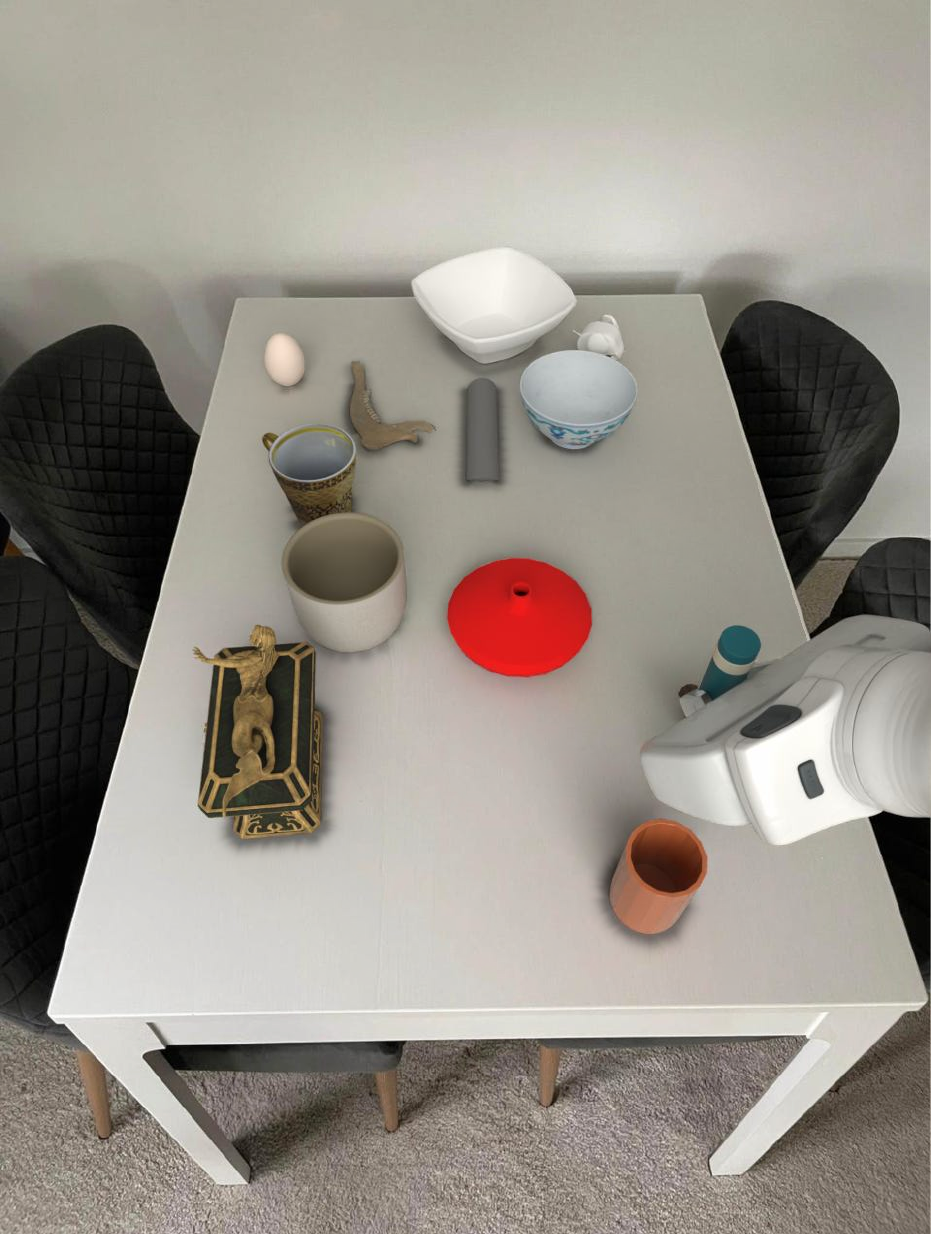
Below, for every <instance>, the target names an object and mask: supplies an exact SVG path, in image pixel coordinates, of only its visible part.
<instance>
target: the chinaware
mask: <svg viewBox="0 0 931 1234" xmlns="http://www.w3.org/2000/svg"><path fill="white" fill-rule="evenodd" d="M638 389H639V388H638V383H637V380H636V378H635V376H634V374H633V373H632V372H631V371H630V369H628V368H627V367H626V366H625V365H624V364H622V363H621V362H620V361H618V360H614V359H612V358H611V356H608V355H606V356H605V355H602V354H599V353H595V352H590V351H583V350H577V349H567V350H560V351H554V352H551V353H547V354H545V355H542V356H540V357H538V358H537V359H535V360H533V361H532V362H531V363H530V364H528V365H527V366H526V368H525V369H524V370H523V372H522V374H521V376H520V380H519V393H520V398H521V403H522V405H523V408H524V411H525V413H526V416H527V417H528V419H529V420H530V422H531V424H532V425H533V426H534V427H535V428H536V429H537V430H538V431H539V432H540V433H542V435H544V436H545V437H546V438H549V439H550V440H551V441H552V442H553V443H554V444H555V445H557V446H559V447H561V448H565V449H569V450H579V449H584V448H587V447H589V446H591V445H592V444H595V443H597V442H600V441H602V440H604V439H606V438H607V437H609V436H611V435H612V434H613V433H615V432H616V431H617V430H618V429H619V428H620V427H621V426H622V425H623V424H624V422H625V421H626V419H628V417H629V415H630V414H631V412H632V410H633V408H634V406H635V404H636V402H637V399H638V392H639V390H638Z"/></svg>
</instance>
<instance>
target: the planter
mask: <svg viewBox="0 0 931 1234" xmlns="http://www.w3.org/2000/svg"><path fill="white" fill-rule="evenodd" d="M281 569H282V574H283V578H284V582H285V584H286V585H285V586H286V588H287V592H288V594H289V597H290V601H291V604H292V607H293V610H294V613H295V615H296V618H297V620H298V622H299V623H300V625H301V627H302V629H303V630H304V632H305V633H306V634H307V635H308V636H309V637H310V638H311V639H312V640H314V642H316V643H318V644H319V645H321V646H322V647H324V648H326V649H328V650H331V651H335V652H339V653H360V652H365V651H368V650H370V649H374V648H375V647H378V646H379V645H381V644H382V643H384V642H385V641H387V640H388V639H389V638H390V637H391V636H393V634H395V632H396V630H397V629H398V628H399V626H400V625H401V622H402V620H403V618H404V615H405V612H406V607H407V601H408V599H407V598H408V587H407V586H408V585H407V573H406V572H407V571H406V557H405V550H404V545H403V542H402V539H401V537H400V536H399V535H398V533H397V532H396V531H395V529H394V528H392V527H391V526H390V524H388V523H387V522H385V521H383V520H382V519H380V518H377V517H376V516H373V515H371V514H370V515H369V514H365V513H360V512H352V511H351V512H345V513H335V514H330V515H326V516H323V517H320V518H317V519H315V520H313V521H311V522H309V523H308V524H306V525H303V526H302V527H300V528H299V529H298V530H297V531H296V532H295V533H294V534H293V535H292V536H291V537H290V538H289V540H288V541H287V543H286V544H285V547H284V549H283V552H282V556H281Z"/></svg>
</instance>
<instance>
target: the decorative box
mask: <svg viewBox="0 0 931 1234" xmlns="http://www.w3.org/2000/svg"><path fill="white" fill-rule="evenodd" d="M276 636H277V635H276V632H275V630H273V629H272V628H271V627H270V626H267V625H266V626H265V625H261V624H258V623H257V624H254V627H253V629H252V631H251V634H250V635H249V636H248V638H249V643H250V644H251V645H243V646H232V647H222V648H221V649H220V650H219V651H218V652H217V653H215V654H214V656H213V658H208V657H206V655H204V653H203V652H202V651H201V649H200V648H198V647H196V646H194V647H193V649H192V651H193V655H194V656H195V657H193V659H195V660H200V662H201V663H204V664H210V665H212V673H211V683H210V690H209V691H210V692H209V700H208V708H207V718H206V722H204V729H203V733H205V736H204V744H203V752H202V753H203V754H202V762H201V772H200V779H199V780H200V781H199V790H198V796H197V797H198V798H197V808H198V809H199V811H200V812H201V813H202V814H204V815H205V816H206V817H207V818H208V819H217V818H223V819H225V818H229V817H231V818H232V817H233V826H232V827H233V828H232V830H233V832H234V833H235V834H236V835H237V836H238V837H239V838H240V839H242V840H249V839H260V838H270V837H271V838H272V837H282V836H294V835H304V834H305V835H306V834H307V835H308V834H312V833H314V832H315V830H317V828H318V827H319V826H320V825H321V822H322V821H321V820H322V770H323V769H322V767H323V766H322V765H323V763H322V762H323V714H322V713H321V712H320V711H319V710H318V709H316V706H315V705H316V703H315V702H316V671H317V670H316V669H317V668H316V667H317V665H316V664H317V661H316V660H317V653H316V648H315V647H314V646H313V645H312V644H310V643H309V642H307V641H298V642H296V641H295V642H285V643H277V638H276ZM196 656H197V657H196Z"/></svg>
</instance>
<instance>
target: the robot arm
mask: <svg viewBox="0 0 931 1234" xmlns="http://www.w3.org/2000/svg"><path fill="white" fill-rule="evenodd" d="M678 702H679V704H680V707H681V709H682V712H683V714H684V717H685V716H686V718H683V719H681V720H679V721H677V722H676V723H674V724H673V725H671V726H670V727H668V728H667V729H665V730H663V731H662V732H660V733H658V734H657V735H655V736H654V737H652V738H650V739H648V740H647V741H645V742H644V743H643V744H642V745H641V747H640V751H639V760H640V765H641V768H642V770H643V773H644V776H645V780H646V781H647V783H648V785H649V787H650V790H651V791H652V793H653V795H654V797H655V798H656V799H657V800H658V801H659V802H661V803H662V804H664V805H666V806H668V807H670V808H671V809H674V810H676V811H679V812H681V813H684V814H686V815H688V816H691V817H694V818H696V819H700V820H703V821H706V822H709V823H712V824H714V825H715V824H716V825H720V826H725V827H739V826H740V827H741V826H747V825H751V826H752V828H753V829H754V831H755V834H756V836H757V837H758V838H759V839H760V840H761V841H763V842H764V843H767V844H769V845H773V846H780V847H781V846H786V845H790V844H792V843H795V842H798V841H800V840H802V839H805V838H807V837H809V836H811V835H814V834H816V833H819V832H822V831H824V830H826V829H829V828H832V827H835V826H838V825H841V824H844V823H847V822H851V821H854V820H859V819H865V818H869V817H873V816H876V815H878V814H880V813H882V812H887V813H890V814H894V815H898V816H900V817H901V816H902V817H906V818H930V819H931V631H930V630H929V627H927V626H926V625H924V624H922V623H919V622H915V621H912V620H908V619H907V620H906V619H902V618H896V617H889V616H882V615H875V614H859V615H854V616H850V617H849V616H848V617H845V618H843V619H841V620H839V621H838V622H836V623H834V624H833V625H832V626H829V627H828V628H827V629H825V630H823V631H822V632H820V633H818V634H817V635H815V636H813V638H811V639H809V640H808V641H806V642H804V643H803V644H801V645H799V646H798V647H796V648H794V649H792V651H790V652H788V653H787V654H785V655H783V656H782V657H780V658H776V659H771V660H766V661H761V662H757V663H756V662H755V663H754V665H753V667H752V669H751V670H750V671H749V673H748V675H747V677H746V679H745V681H743V682H742V683H740V684H739V685H737V686H735V687H734V688H732V689H731V690H729V691H727V692H726V693H724V694H723V695H721V696H719V697H718V698H716V699H715V700H713V701H712V698H711V695H710V693H709V691H706V690H699V688H698V689H697V688H696V689H695V690H693V691H691V692H689V693H688V694H686V695H684V696H682V697H681V698H680V697H679V701H678Z"/></svg>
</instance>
